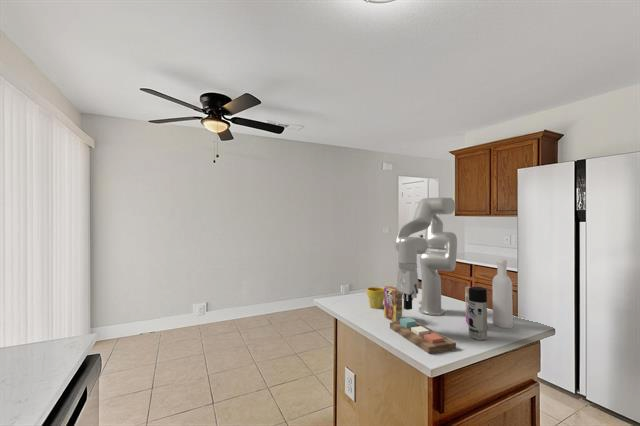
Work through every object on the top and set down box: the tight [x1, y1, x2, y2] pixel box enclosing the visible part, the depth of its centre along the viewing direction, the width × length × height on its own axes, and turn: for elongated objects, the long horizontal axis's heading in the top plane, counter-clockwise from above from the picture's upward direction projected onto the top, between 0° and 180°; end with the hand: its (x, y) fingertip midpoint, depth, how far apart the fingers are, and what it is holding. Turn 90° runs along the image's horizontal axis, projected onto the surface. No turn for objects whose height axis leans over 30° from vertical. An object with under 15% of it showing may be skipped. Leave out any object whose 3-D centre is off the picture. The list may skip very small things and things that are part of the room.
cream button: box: [411, 326, 429, 336], centre depth 118 cm, size 5×5×3 cm
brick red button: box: [424, 333, 444, 344], centre depth 111 cm, size 5×5×3 cm
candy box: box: [383, 285, 403, 322], centre depth 141 cm, size 9×4×15 cm, turn 26°
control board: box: [389, 321, 457, 355], centre depth 118 cm, size 26×12×2 cm, turn 18°
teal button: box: [400, 317, 418, 328], centre depth 126 cm, size 5×5×3 cm
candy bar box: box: [464, 286, 470, 326], centre depth 132 cm, size 11×5×16 cm, turn 163°
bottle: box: [491, 258, 514, 329], centre depth 133 cm, size 8×8×30 cm
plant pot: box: [366, 286, 384, 309], centre depth 160 cm, size 10×10×10 cm
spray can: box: [468, 286, 488, 341], centre depth 119 cm, size 7×7×20 cm
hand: (407, 308), depth 126 cm, fingers closed
